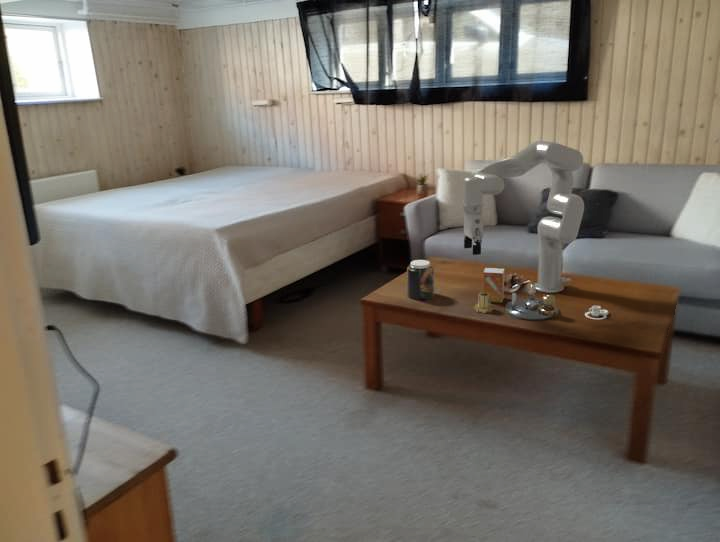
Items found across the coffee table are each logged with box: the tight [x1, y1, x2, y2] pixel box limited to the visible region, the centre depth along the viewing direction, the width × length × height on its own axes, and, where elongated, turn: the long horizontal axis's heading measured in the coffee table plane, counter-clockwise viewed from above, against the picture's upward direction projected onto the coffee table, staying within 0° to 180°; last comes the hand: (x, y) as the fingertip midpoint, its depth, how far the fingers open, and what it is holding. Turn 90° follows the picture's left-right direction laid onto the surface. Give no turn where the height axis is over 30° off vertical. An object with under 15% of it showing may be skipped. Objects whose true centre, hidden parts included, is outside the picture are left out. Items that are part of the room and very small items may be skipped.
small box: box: [482, 267, 506, 304], centre depth 249 cm, size 8×6×13 cm
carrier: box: [504, 283, 560, 321], centre depth 237 cm, size 20×20×8 cm
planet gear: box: [473, 291, 495, 314], centre depth 240 cm, size 8×7×6 cm
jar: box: [406, 259, 435, 301], centre depth 258 cm, size 12×12×15 cm
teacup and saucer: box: [584, 304, 610, 321], centre depth 230 cm, size 9×8×4 cm
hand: (472, 251), depth 238 cm, fingers open, 9 cm apart
